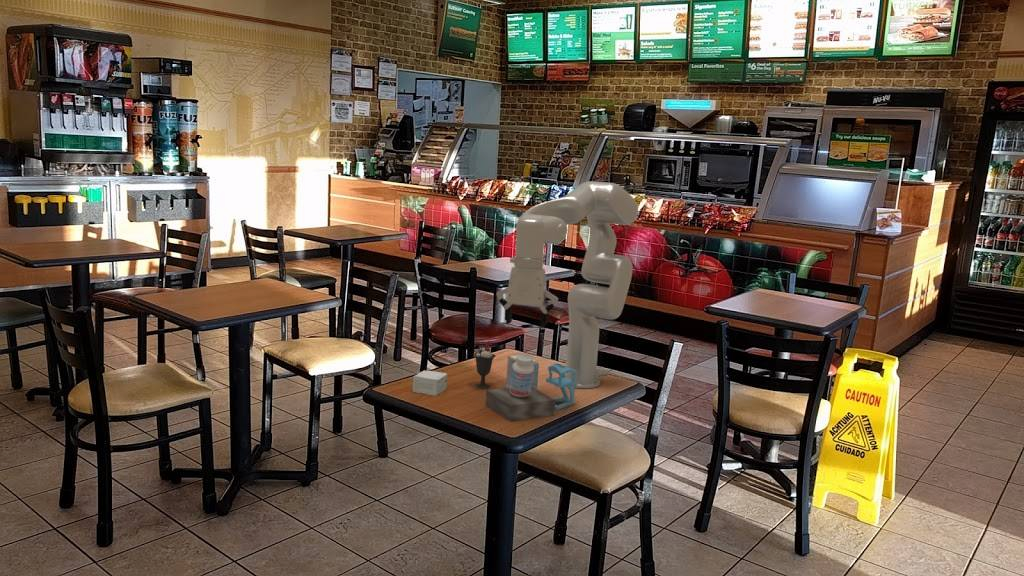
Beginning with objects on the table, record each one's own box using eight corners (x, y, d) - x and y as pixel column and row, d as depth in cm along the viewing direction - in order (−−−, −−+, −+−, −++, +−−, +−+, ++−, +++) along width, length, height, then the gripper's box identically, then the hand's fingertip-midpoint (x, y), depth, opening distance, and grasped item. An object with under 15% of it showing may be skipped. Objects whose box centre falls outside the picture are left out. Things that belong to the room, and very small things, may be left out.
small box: (436, 396, 226) (437, 379, 226) (411, 392, 229) (412, 375, 228) (447, 389, 234) (447, 373, 233) (423, 385, 236) (423, 369, 235)
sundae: (491, 391, 234) (493, 342, 231) (469, 388, 235) (471, 340, 233) (495, 385, 240) (498, 337, 238) (474, 382, 242) (477, 335, 239)
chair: (579, 406, 225) (582, 365, 223) (556, 409, 220) (559, 368, 218) (563, 398, 231) (566, 359, 229) (540, 402, 227) (543, 362, 225)
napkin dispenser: (520, 386, 241) (522, 353, 239) (536, 395, 232) (539, 361, 231) (505, 387, 238) (507, 354, 237) (521, 397, 230) (523, 363, 228)
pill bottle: (508, 396, 214) (512, 360, 210) (509, 385, 220) (514, 350, 216) (530, 399, 214) (535, 363, 210) (531, 388, 220) (535, 353, 216)
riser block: (528, 402, 228) (529, 385, 227) (553, 417, 216) (555, 399, 215) (485, 407, 221) (486, 390, 220) (509, 423, 209) (511, 405, 208)
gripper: (494, 262, 210) (491, 324, 213) (556, 268, 205) (553, 331, 209) (502, 258, 217) (499, 318, 220) (563, 264, 212) (559, 325, 216)
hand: (525, 324), depth 214 cm, fingers open, 9 cm apart
